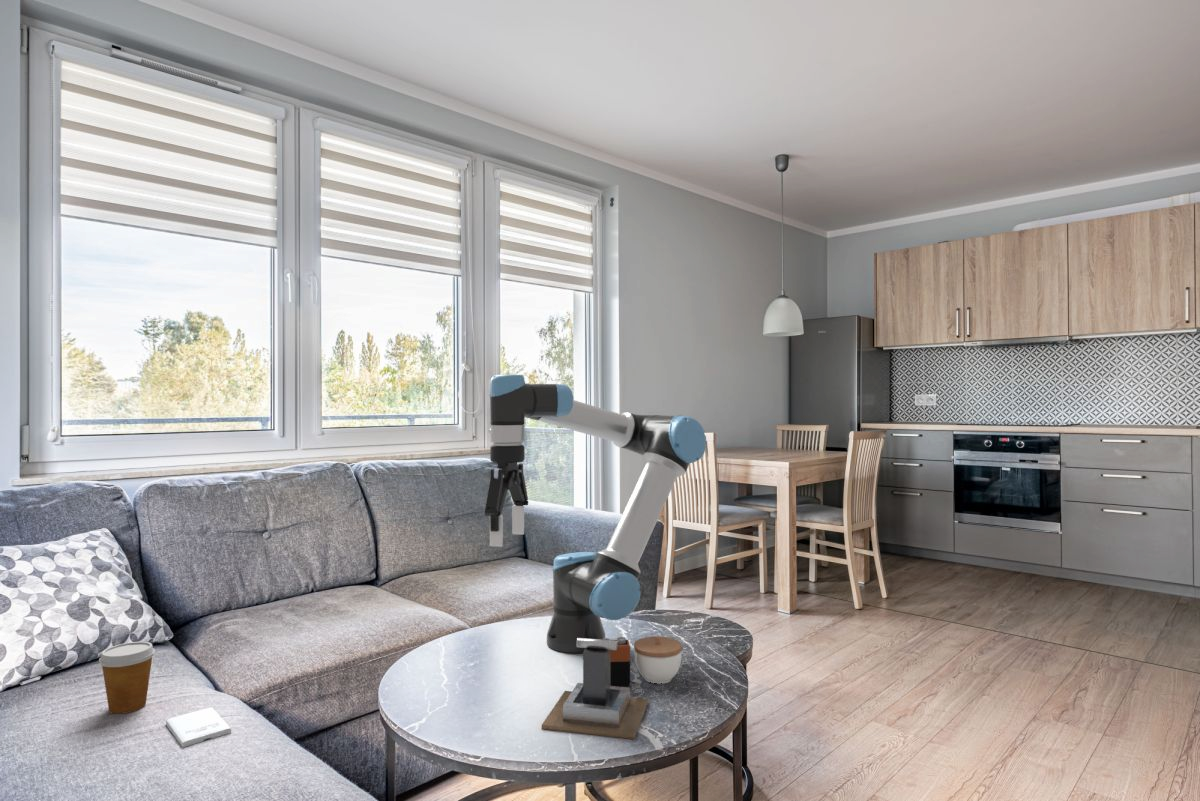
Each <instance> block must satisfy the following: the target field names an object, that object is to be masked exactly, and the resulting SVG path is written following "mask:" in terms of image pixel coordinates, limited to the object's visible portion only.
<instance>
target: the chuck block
mask: <svg viewBox="0 0 1200 801" xmlns="http://www.w3.org/2000/svg"><path fill="white" fill-rule="evenodd" d="M630 690H631V689H630V687H617V686H611V705H610V706H600V705H590V704H583V682H577V683H576V684H575V687H574V688H573V689H572V691H571V690H564V692H563V693H562V694H561V696H560V697H559V699H558V700H557V702H555V705H554V706H553V707H552V709H551V710H550V712H549V713H548V715H547V716H546V718H545V719H544V721H543V722H542V724H541V730H548V731H549V730H550V731H557V732H566V733H576V734H583V735H584V734H586V735H592V734H593V736H601V737H602V736H604V737H612V738H619V739H620V738H621V739H629V740H635V739H636V736H637V733H638V732H639V728H640V726H641V723H642V721H643V719H642V718H644V716H645V713H646V710H647V708H648V706H649V700H650V699H649V698H642V697H632V696H630ZM647 705H648V706H647Z"/></svg>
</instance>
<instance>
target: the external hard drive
mask: <svg viewBox="0 0 1200 801" xmlns="http://www.w3.org/2000/svg"><path fill="white" fill-rule="evenodd" d="M165 725H166V727H167V728H168V729H169V731H170V732H171V733H172V735H173V737H174V738H175V739H176V741H177V742H178V743H179V745H180V747H181V748H185V747H187V746H189V747H190V746H191V745H194V744H199V743H201V742H204V741H207V740H210V739H214V738H218V737H221V736H224V735H228V734H231V733H232V728H231V726H229V724H228V723H227V722H226V721H225V720H224V719H223V718H222V717H221V715H220V714H219V713H218V712H217V711H216V710H215V709H214V708H213V707H206V708H204V709H203V708H202V709H199V710H195V711H191V712H188V713H184V714H180V715H177V716H173V717H169V718H167V719H166V720H165Z"/></svg>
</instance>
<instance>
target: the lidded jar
mask: <svg viewBox="0 0 1200 801" xmlns="http://www.w3.org/2000/svg"><path fill="white" fill-rule="evenodd" d="M682 646H683V645H682V643H681V642H680V641H678V640H677V639H675V638H671V637H666V636H657V635H656V636H647V637H642V638H639V639H637V640H636V641H635V642H634V644H633V650H634V661H635V662H634V663H635V665H636V668H637V671H638V672H639V674H640V675H641V676H642V677H643V679H644V681H646V682H647V683H650V682H651V683H650V684H654V683H657V684H656V685H663V684H667V683H668V684H669V683H670V682H672V680H673V678H674V677H675V676H676V675H677V674H678V672H679V670H680V667H681V663H682V662H681V660H682V650H683V647H682ZM661 683H662V684H661Z"/></svg>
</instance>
